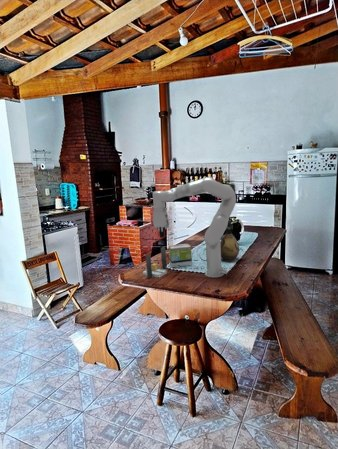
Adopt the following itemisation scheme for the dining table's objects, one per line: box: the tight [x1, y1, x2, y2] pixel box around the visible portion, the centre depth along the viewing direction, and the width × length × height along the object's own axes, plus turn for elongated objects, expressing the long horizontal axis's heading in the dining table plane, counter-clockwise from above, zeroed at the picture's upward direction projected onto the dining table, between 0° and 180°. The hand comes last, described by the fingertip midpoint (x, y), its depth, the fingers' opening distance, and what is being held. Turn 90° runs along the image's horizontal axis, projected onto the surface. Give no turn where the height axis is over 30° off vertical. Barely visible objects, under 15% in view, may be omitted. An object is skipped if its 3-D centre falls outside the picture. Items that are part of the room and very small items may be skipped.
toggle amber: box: [151, 263, 159, 271], centre depth 213 cm, size 3×3×4 cm
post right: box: [160, 246, 168, 271], centre depth 218 cm, size 3×3×16 cm
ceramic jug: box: [220, 219, 240, 263], centre depth 228 cm, size 17×15×30 cm
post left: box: [145, 253, 153, 279], centre depth 204 cm, size 3×3×16 cm
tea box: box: [168, 243, 193, 269], centre depth 225 cm, size 15×10×15 cm
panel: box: [142, 267, 168, 279], centre depth 212 cm, size 14×9×3 cm, turn 56°
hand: (162, 236), depth 204 cm, fingers closed
